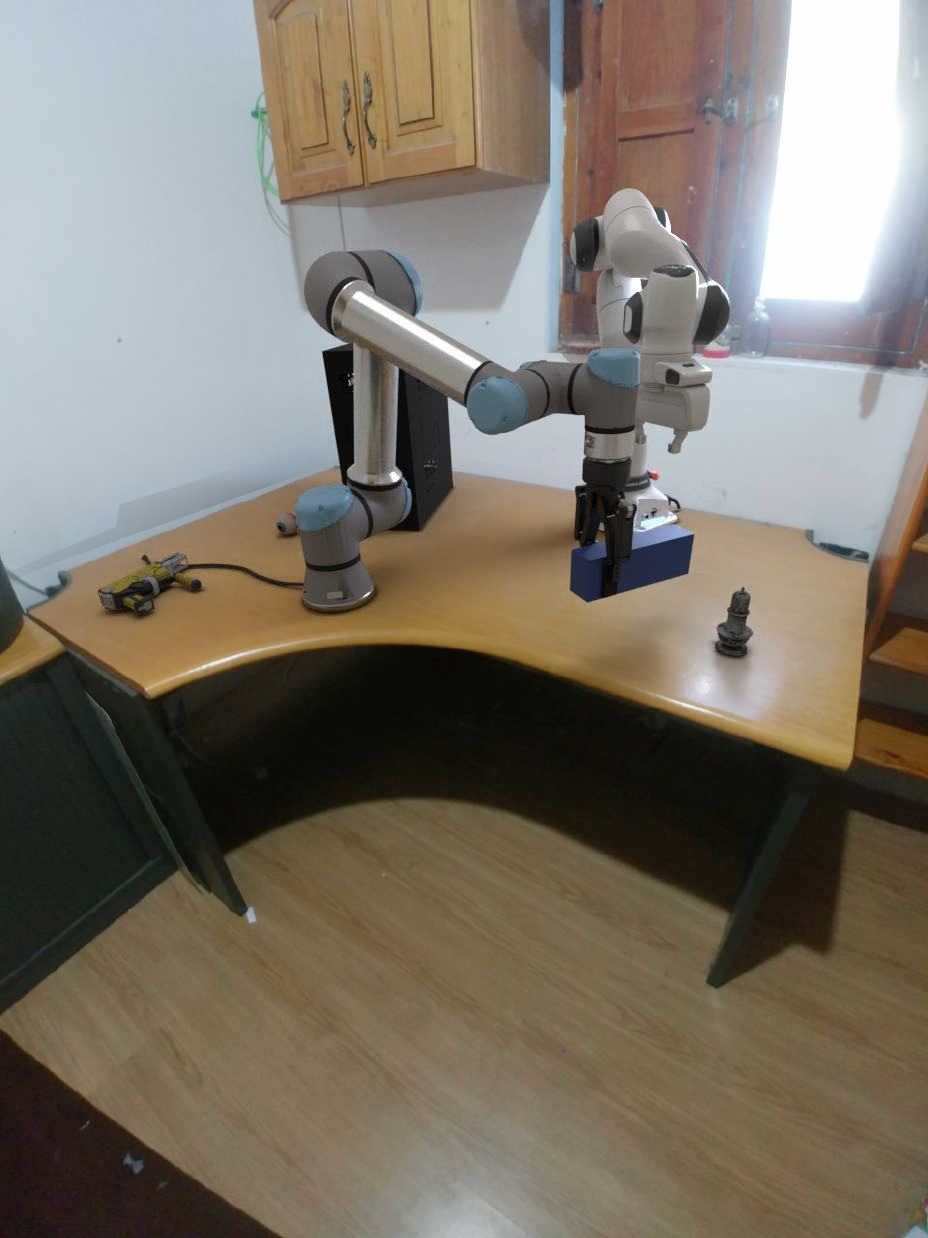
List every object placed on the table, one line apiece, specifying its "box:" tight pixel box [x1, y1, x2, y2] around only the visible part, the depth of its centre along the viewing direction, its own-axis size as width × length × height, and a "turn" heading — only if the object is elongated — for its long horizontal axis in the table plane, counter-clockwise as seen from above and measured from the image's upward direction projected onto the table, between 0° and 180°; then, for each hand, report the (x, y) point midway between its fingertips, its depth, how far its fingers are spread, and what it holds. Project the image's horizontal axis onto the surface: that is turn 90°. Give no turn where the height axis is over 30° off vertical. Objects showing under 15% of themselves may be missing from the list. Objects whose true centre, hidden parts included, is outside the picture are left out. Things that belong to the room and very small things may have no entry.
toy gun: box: [97, 551, 203, 617], centre depth 137 cm, size 5×24×15 cm
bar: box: [569, 523, 695, 604], centre depth 107 cm, size 22×5×8 cm, turn 115°
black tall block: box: [321, 343, 454, 532], centre depth 169 cm, size 38×20×45 cm, turn 167°
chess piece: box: [714, 586, 754, 657], centre depth 103 cm, size 6×6×12 cm
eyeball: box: [275, 511, 298, 536], centre depth 163 cm, size 6×6×6 cm
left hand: (598, 588), depth 106 cm, fingers closed on bar, 5 cm apart
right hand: (656, 448), depth 114 cm, fingers open, 8 cm apart
